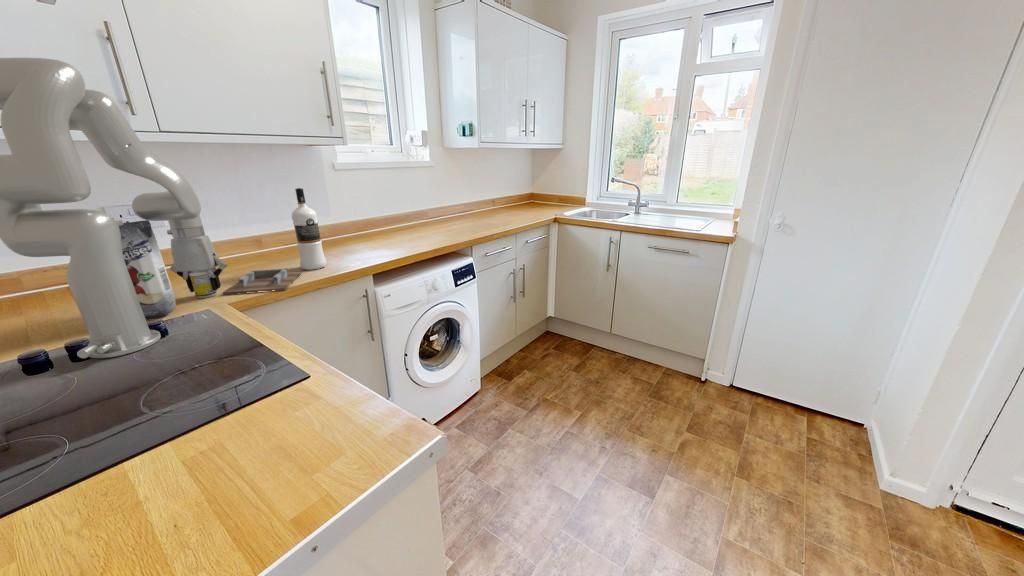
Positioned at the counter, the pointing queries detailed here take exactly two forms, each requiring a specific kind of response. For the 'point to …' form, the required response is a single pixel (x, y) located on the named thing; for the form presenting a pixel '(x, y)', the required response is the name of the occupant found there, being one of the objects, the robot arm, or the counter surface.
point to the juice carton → (146, 268)
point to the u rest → (263, 281)
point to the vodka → (307, 235)
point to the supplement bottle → (202, 284)
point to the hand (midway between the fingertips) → (205, 289)
